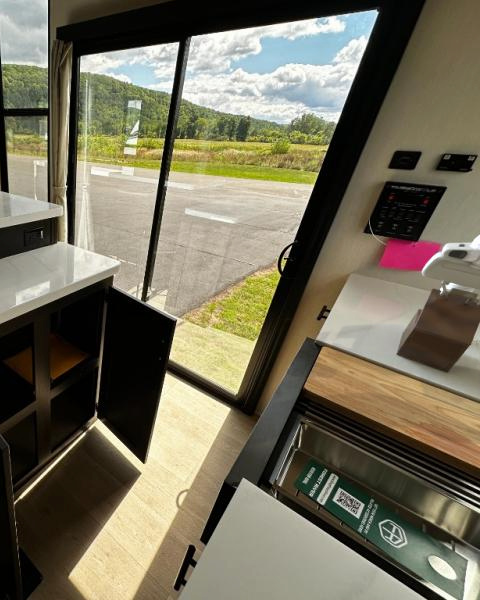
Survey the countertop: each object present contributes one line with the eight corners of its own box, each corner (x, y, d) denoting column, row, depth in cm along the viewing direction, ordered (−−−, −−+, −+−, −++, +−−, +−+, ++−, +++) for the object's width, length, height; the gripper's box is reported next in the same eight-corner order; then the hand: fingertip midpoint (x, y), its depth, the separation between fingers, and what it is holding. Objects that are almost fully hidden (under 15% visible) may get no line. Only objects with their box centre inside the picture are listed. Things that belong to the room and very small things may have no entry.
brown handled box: (431, 289, 97) (439, 279, 93) (486, 303, 90) (497, 293, 86) (413, 328, 93) (421, 319, 89) (469, 346, 86) (480, 337, 82)
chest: (402, 332, 107) (418, 308, 101) (450, 348, 100) (470, 323, 94) (396, 354, 98) (413, 329, 93) (447, 372, 91) (469, 346, 86)
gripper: (552, 263, 79) (513, 308, 86) (438, 242, 92) (413, 283, 99) (556, 271, 75) (514, 318, 83) (437, 248, 88) (410, 290, 96)
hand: (458, 299), depth 91 cm, fingers closed on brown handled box, 5 cm apart
